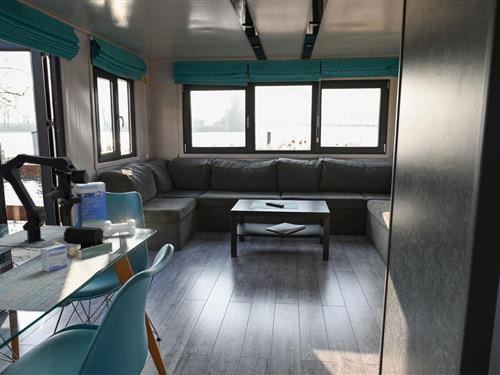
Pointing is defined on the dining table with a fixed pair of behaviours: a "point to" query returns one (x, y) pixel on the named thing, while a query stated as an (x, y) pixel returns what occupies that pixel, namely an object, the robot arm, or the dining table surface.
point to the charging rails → (88, 250)
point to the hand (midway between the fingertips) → (66, 216)
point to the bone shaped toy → (119, 228)
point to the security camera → (83, 236)
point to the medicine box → (54, 257)
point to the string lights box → (91, 205)
